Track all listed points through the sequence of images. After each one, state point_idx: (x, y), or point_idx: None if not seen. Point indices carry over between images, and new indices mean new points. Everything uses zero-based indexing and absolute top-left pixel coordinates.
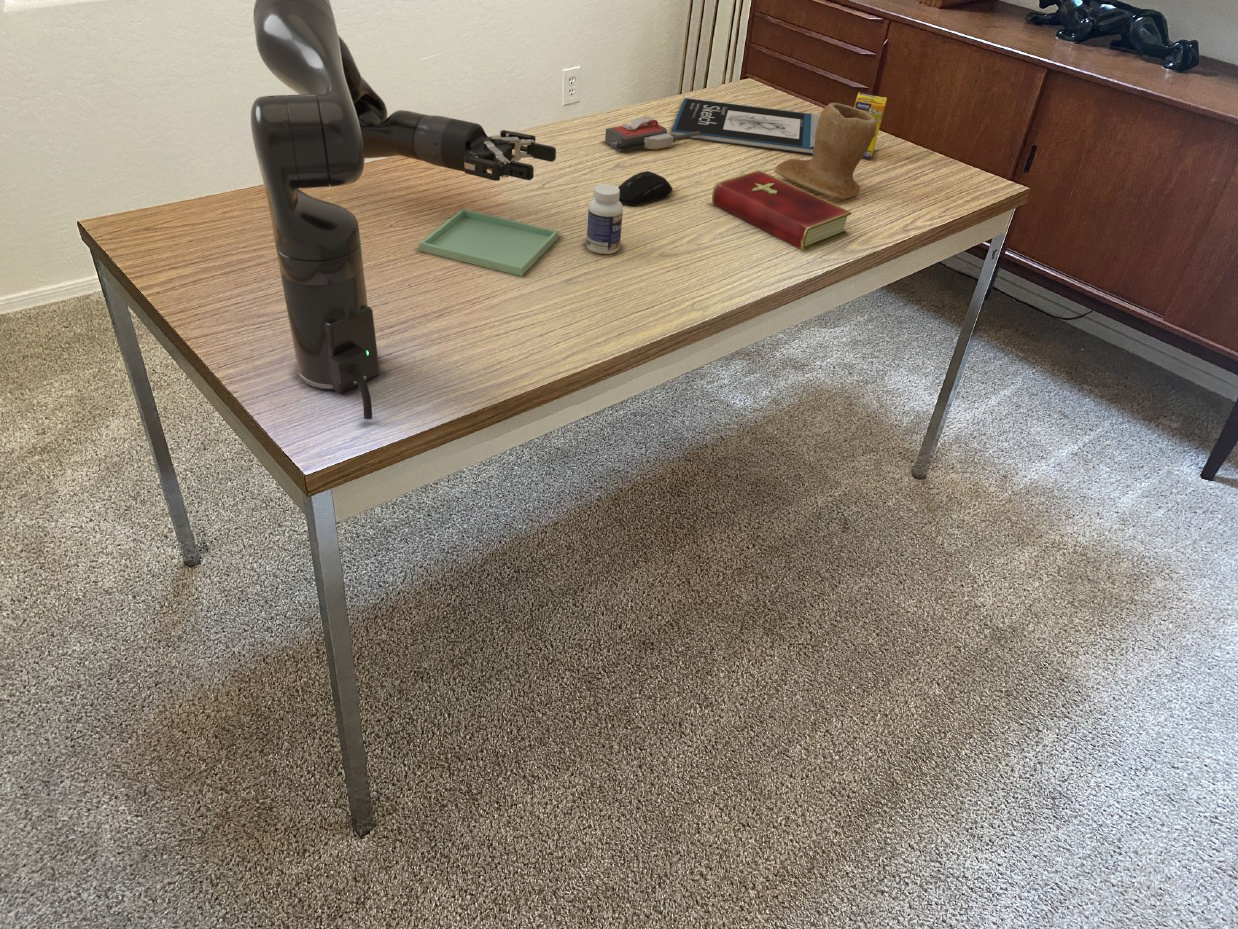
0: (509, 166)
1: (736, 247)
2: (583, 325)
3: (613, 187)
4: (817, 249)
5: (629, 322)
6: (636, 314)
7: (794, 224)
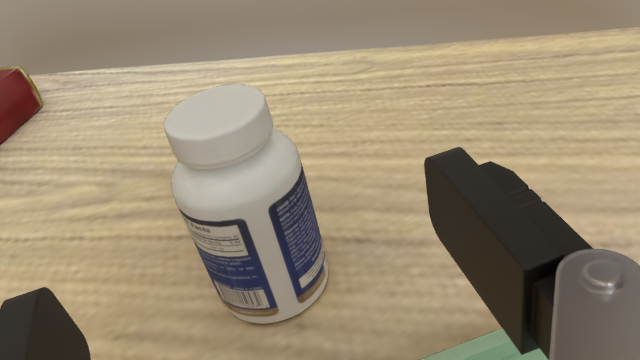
0: (586, 246)
1: (82, 150)
2: (620, 87)
3: (184, 110)
4: None
5: (515, 70)
6: (480, 80)
7: (2, 85)
